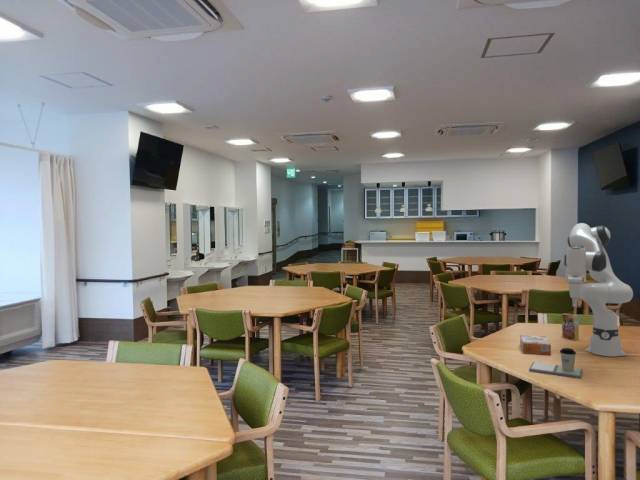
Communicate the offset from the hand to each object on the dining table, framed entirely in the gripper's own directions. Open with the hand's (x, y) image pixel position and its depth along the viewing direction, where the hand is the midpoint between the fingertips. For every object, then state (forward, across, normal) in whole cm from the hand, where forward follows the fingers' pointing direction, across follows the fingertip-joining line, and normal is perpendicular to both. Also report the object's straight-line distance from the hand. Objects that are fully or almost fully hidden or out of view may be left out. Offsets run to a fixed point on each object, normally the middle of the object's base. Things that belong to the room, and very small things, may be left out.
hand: (575, 305), depth 226 cm
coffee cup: (+30, +12, -2) cm, 32 cm away
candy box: (+31, -65, -5) cm, 72 cm away
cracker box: (+28, -16, -18) cm, 37 cm away
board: (+31, +11, -7) cm, 34 cm away
